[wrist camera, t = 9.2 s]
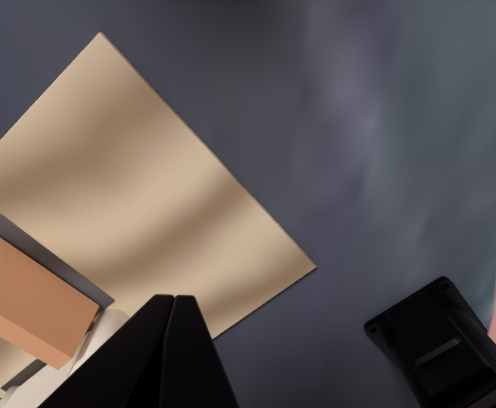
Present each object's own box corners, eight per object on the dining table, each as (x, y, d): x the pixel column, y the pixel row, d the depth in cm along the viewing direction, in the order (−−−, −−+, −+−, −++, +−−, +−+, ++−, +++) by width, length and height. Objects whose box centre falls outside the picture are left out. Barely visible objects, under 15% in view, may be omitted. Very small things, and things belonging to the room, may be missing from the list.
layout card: (314, 263, 21) (316, 267, 21) (73, 431, 27) (71, 437, 26) (102, 32, 16) (99, 32, 15) (-151, 306, 21) (-158, 311, 21)
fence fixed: (138, 316, 22) (111, 392, 17) (27, 401, 25) (-23, 487, 20) (114, 299, 22) (80, 372, 17) (4, 387, 24) (-55, 473, 19)
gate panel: (-43, 202, 18) (-132, 250, 13) (102, 302, 21) (69, 368, 17) (-60, 223, 18) (-152, 277, 14) (84, 318, 21) (47, 387, 17)
